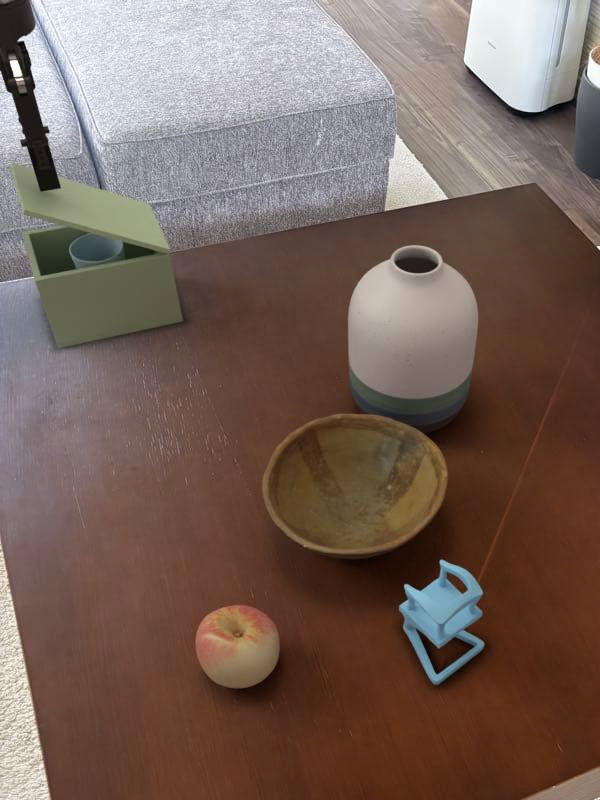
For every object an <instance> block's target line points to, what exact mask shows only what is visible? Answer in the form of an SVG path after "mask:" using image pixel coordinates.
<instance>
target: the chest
mask: <svg viewBox="0 0 600 800" xmlns="http://www.w3.org/2000/svg"><path fill="white" fill-rule="evenodd" d="M87 234H91V233H89V232H85V231H81V230H78V229H74V228H70V227H67V226H63V225H59V224H58V225H54V226H49V227H43V228H37V229H32V230H27V231H22V232H21V235H22V238H23V242H24V246H25V250H26V253H27V257H28V261H29V264H30V268H31V272H32V276H33V279H34V281H35V285H36V288H37V291H38V294H39V297H40V300H41V303H42V305H43V309H44V312H45V314H46V318H47V321H48V324H49V326H50V329H51V332H52V335H53V338H54V340H55V344H56V347H57V349H62V348H65V347H69V346H75V345H80V344H85V343H89V342H94V341H98V340H102V339H107V338H113V337H116V336H121V335H126V334H130V333H134V332H135V333H136V332H140V331H144V330H149V329H153V328H158V327H163V326H168V325H172V324H176V323H181V322H184V318H183V314H182V309H181V304H180V299H179V294H178V289H177V283H176V278H175V273H174V268H173V263H172V258H171V254H170V253H169V254H166V253H163V252H159V251H155V250H152V249H148V248H144V247H141V246H137V245H133V244H129V243H126V242H123V244H124V252H125V260H122V261H117V262H112V263H107V264H102V265H96V266H91V267H86V268H81V269H76V266H75V264H74V262H73V260H72V257H71V255H70V252H69V248H70V245H71V244H72V242H73V241H75V240H76V239H77V238H79V237H81V236H84V235H87Z"/></svg>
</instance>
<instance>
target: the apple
mask: <svg viewBox="0 0 600 800" xmlns="http://www.w3.org/2000/svg"><path fill="white" fill-rule="evenodd" d="M195 635H196V636H195V652H196V657H197V659H198V662H199V664H200V666H201V668H202V670H203V671H204V672H205V674H206V675H207V677H208V678H210V680H211V681H213V682H214V683H215V684H217V685H220V686H222V687H225V688H230V689H245V688H250V687H253V686H255V685H257V684H259V683H261V682H263V681H264V680H265V679H266V678H267V677H268V676H270V674H271V673H272V672H273V671H274V669H275V667H276V666H277V664H278V661H279V657H280V649H281V647H280V646H281V645H280V635H279V631H278V628H277V626H276V624H275V623H274V621H273V620H272V618H271V617H270V616H269V615H267V614H266V613H265V612H263V611H261V610H259V609H258V608H256V607H253V606H251V605H250V606H249V605H245V604H234V605H229V606H224V607H221V608H218V609H215V610H213V611H211V612H210V613H208V614H207V615H206V616H205V617H204V618H203V619H202V620H201V622H200V624H199V626H198V628H197V630H196V634H195Z"/></svg>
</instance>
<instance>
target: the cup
mask: <svg viewBox="0 0 600 800" xmlns="http://www.w3.org/2000/svg"><path fill="white" fill-rule="evenodd" d="M69 252H70V255H71V257H72V260H73V262H74V264H75V266H76V269H81V268H86V267H91V266H96V265H102V264H107V263H112V262H117V261H122V260H125V252H124V244H123V242H122V241H118V240H115V239H111V238H107V237H104V236H100V235H96V234H92V233H91V234H87V235H84V236H81V237H79V238H77V239H76V240H75V241H73V242H72V244H71V245H70V248H69Z"/></svg>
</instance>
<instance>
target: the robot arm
mask: <svg viewBox="0 0 600 800" xmlns="http://www.w3.org/2000/svg"><path fill="white" fill-rule="evenodd" d="M36 24H37V22H36V17H35V15H34V11H33V7H32V3H31V0H0V74H1V76H2V80H3V84H4V86H5V89H6V91H7V93H9V94H11V96H12V100H13V103H14V106H15V110H16V113H17V116H18V118H17V120H18V123H19V124H20V125H21V133H22V135H24V138H23V139H22V138H21V139H19V142H20V145H21V148H25V147H26V149H27V153H28V155H29V159H30V162H31V165H32V169H34V172H35V175H36V179H37V182H38V185H39V188H40V192H42V191H48V190H54V189H60V188H61V186H60V183H59V179H58V172H57V169H56V166H55V161H54V159H53V155H52V151H51V147H50V145H49V137H48V136H47V134H50V133H51V132H50V128H49V126H48V125H45V126H44V123H43V120H42V116H41V112H40V109H39V106H38V102H37V98H36V95H35V94H36V93H35V89H36V81H35V78H34V76H33V72H32V64H33V63H32V60H31V57H30V53H29V50H28V48H27V45H26V41H25V40H20V39H22V38H23V37H27V36H29V35H30V34H32V33H33V31H34V30H35V28H36Z"/></svg>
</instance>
